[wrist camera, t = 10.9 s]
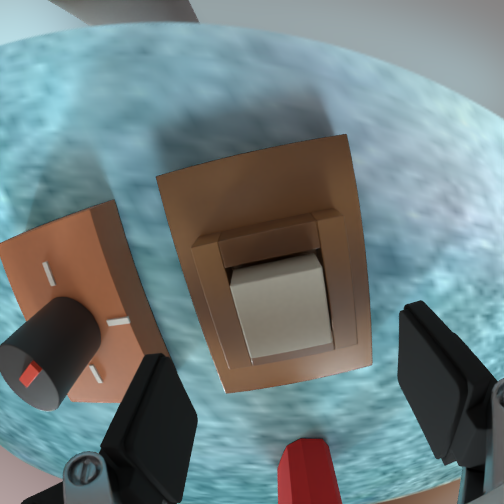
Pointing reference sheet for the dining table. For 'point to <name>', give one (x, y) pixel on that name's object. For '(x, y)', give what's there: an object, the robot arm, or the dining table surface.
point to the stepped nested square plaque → (273, 251)
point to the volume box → (88, 292)
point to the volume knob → (50, 352)
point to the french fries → (307, 474)
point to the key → (282, 305)
